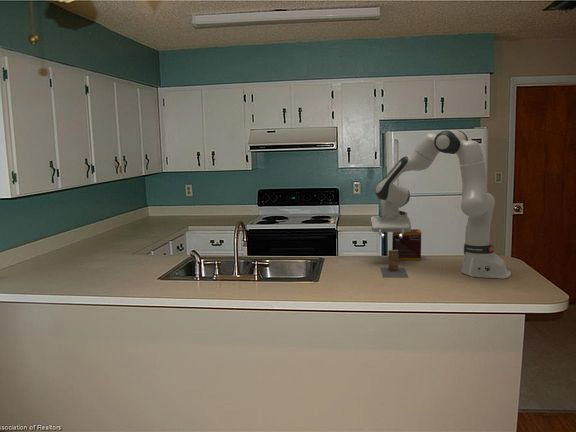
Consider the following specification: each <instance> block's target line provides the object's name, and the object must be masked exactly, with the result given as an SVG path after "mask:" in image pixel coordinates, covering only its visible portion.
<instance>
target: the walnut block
mask: <svg viewBox="0 0 576 432" xmlns="http://www.w3.org/2000/svg"><path fill="white" fill-rule="evenodd" d="M387 267H388V270H389V271H398V267H399V260H398V250H392V249H388V266H387Z"/></svg>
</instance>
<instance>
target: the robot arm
mask: <svg viewBox="0 0 576 432" xmlns="http://www.w3.org/2000/svg"><path fill="white" fill-rule="evenodd" d="M440 153H443V154H450V155H457V157H458V161H459V168H460V173H461V183H462V185H461V186H462V190H461V204H460V205H461V206H460V209H461V211H462V213H463V214H464V215H465V216H467V217H468V218H467V222H466V225H465V239H464V241H465V243H463V256H464V257H463V263H462V267H461V270H460V272H461V273H462V274H464V275H467V276H469V277H471V278H472V277H473V278H487V279H488V278H489V279H504V280H505V279H508V278H510V277H511V276H512V272H511V270H508V269H507V266H506V262H505V260H504V259H502V258H501V257H500V256H499V255H498V254H496V253H495V246H494V245H492V244H491V243H490V241H491V240H490V239H491V224H492V220H493V215H494V214H493V213H494V207H495V204H496V200H495V198H494V196H493V194H491V193H489V192H487V191H486V189H487V180H488V177H487V171H486V165H485V164H486V163H485V159H484V158H485V157H484V153H483V150H482V147H481V145H480V143H479V142H478V141H476V140H473V139H472V140H470V139H469V138H468V136H467V134H466V133H464V131H461V130H455V129H447V130H443V131H440V132H439V133H437V134H436V133H434V132H428V133H426V134H425V135H424V136H423V137H422V138H421V139H420V141H419V142H418V144H416V146H415V148H414V149H413V151H412V152H411V153H410V154H408V155H406V156H403V157H401V158H400V159H399V160H398V161H397V163H395V165H394V166H393V167H392V168H391V170H390V171H389V172H388V173H387V174H386V176H384V178H383V179H382V180H380V181H379V182H378V183H377V185H376V187H375V189H374V192H375V196H376V198H377V199H378V200H381V201H380V203H381V204H380V205H381V208H382V209H381V215H378V216H376V215H374V216H372V217H371V218H370V223H371V232H373V233H378V234H379V236H380V239H384V238H385V234H384V233H393V232H401V234H400V235H399V238H403V234H404V232H410V230H411V229H412V224H411V220H410V218H409V217H408V212H406V211H403V210H399V209H400V208H402V207H404V206H405V205H407V204H408V203H409V202H410V198H411V194H410V190H409V189H408V188H407V187H405V186H402V185H398V184H395V182H396V180H398V178H400V176H401V175H402V174H403V173H405V172H412V171H414V172H415V171H417V172H418V171H424V170H425V171H426V170H427V169H429V167H431V165H432V164H433V162H434V161H435V160H436V158H437V156H438V154H440Z"/></svg>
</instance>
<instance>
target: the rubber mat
mask: <svg viewBox="0 0 576 432" xmlns="http://www.w3.org/2000/svg"><path fill="white" fill-rule="evenodd" d="M388 267H389V266H387V267H385V266H384V267H380V271H381V275H382V276H381V277H382V279H383V278H384V279H385V278H386V279H387V278H388V279H389V278H391V279H394V278H395V279H397V278H398V279H409V276H408V275H409V274H408V273H407V271H406V268H405V267H399V266H398V271H389V270H388Z"/></svg>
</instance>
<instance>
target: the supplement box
mask: <svg viewBox="0 0 576 432" xmlns="http://www.w3.org/2000/svg"><path fill="white" fill-rule="evenodd" d="M400 234H401V232H392V242H391V243H392V244H391V250H398V261H408V260H412V261H414V262H418V261H419V262H420V261H421V260H422V231H421V229H420V228H419V229H418V228H417V229H412V228H411V230H410V232H404V234H403V238H399V235H400Z"/></svg>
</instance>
